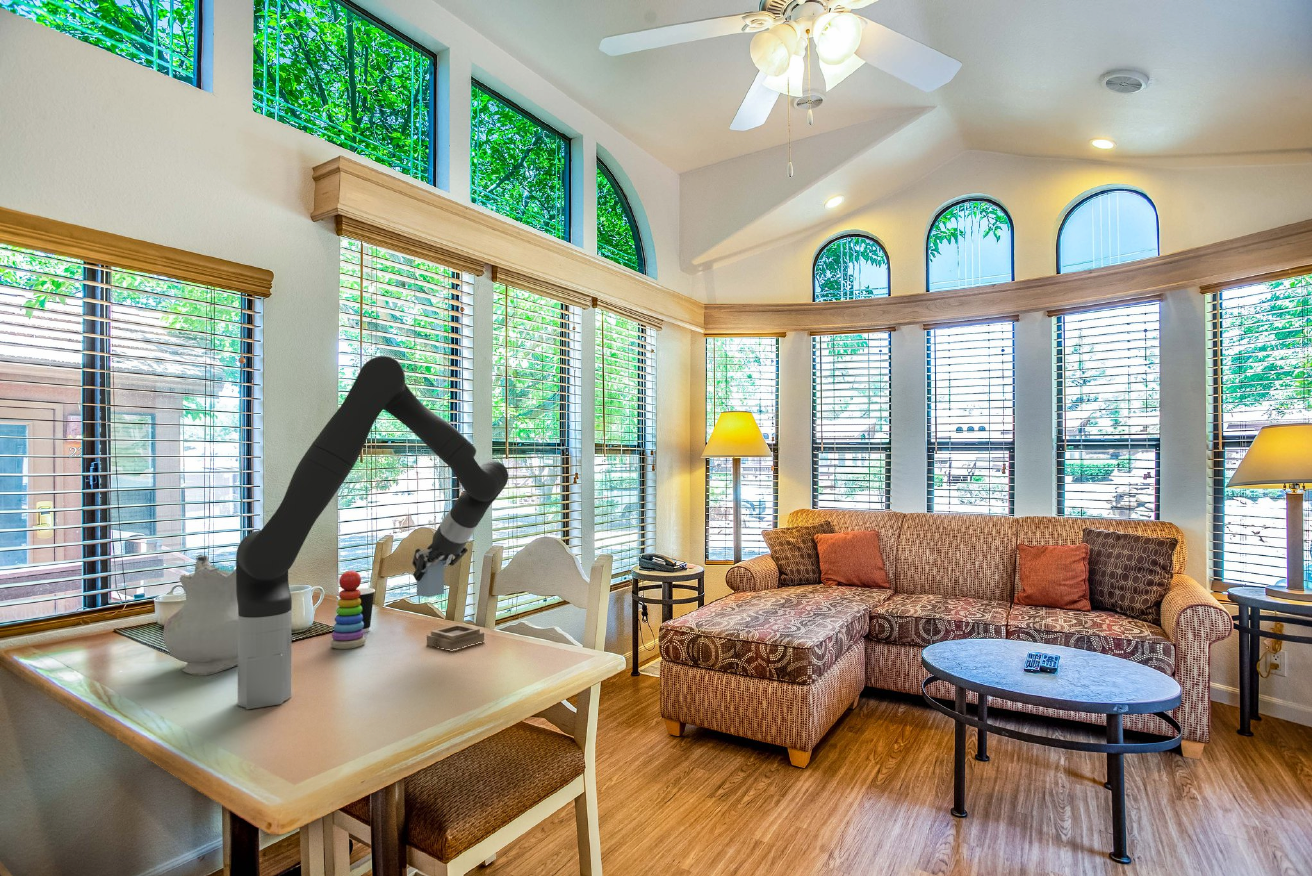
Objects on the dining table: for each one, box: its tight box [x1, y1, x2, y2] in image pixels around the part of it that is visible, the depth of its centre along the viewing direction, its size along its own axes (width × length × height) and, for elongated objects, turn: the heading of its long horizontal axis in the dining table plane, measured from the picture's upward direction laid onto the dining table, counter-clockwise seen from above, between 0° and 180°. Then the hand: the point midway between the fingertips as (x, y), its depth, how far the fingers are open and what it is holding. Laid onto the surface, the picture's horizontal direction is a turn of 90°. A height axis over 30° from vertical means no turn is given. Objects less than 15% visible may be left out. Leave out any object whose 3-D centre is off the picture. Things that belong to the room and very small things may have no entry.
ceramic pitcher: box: [162, 554, 238, 676], centre depth 159 cm, size 22×20×25 cm
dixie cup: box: [357, 587, 376, 634], centre depth 189 cm, size 8×8×11 cm
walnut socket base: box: [426, 623, 485, 650], centre depth 176 cm, size 10×10×4 cm
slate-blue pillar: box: [416, 555, 445, 598], centre depth 168 cm, size 4×4×10 cm
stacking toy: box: [330, 570, 366, 650], centre depth 175 cm, size 8×8×19 cm
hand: (425, 576), depth 169 cm, fingers closed on slate-blue pillar, 4 cm apart
